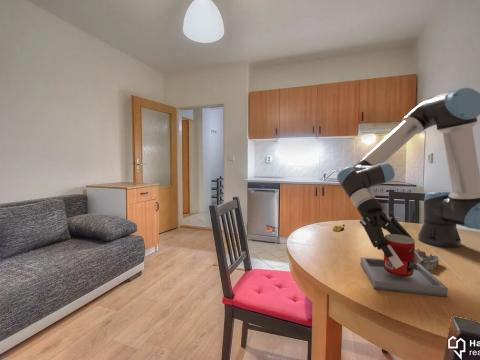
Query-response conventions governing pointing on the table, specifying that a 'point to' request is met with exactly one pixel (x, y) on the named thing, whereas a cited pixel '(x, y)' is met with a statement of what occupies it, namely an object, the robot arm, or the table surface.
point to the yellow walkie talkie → (338, 228)
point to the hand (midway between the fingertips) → (409, 264)
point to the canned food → (401, 254)
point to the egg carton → (428, 260)
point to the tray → (402, 279)
